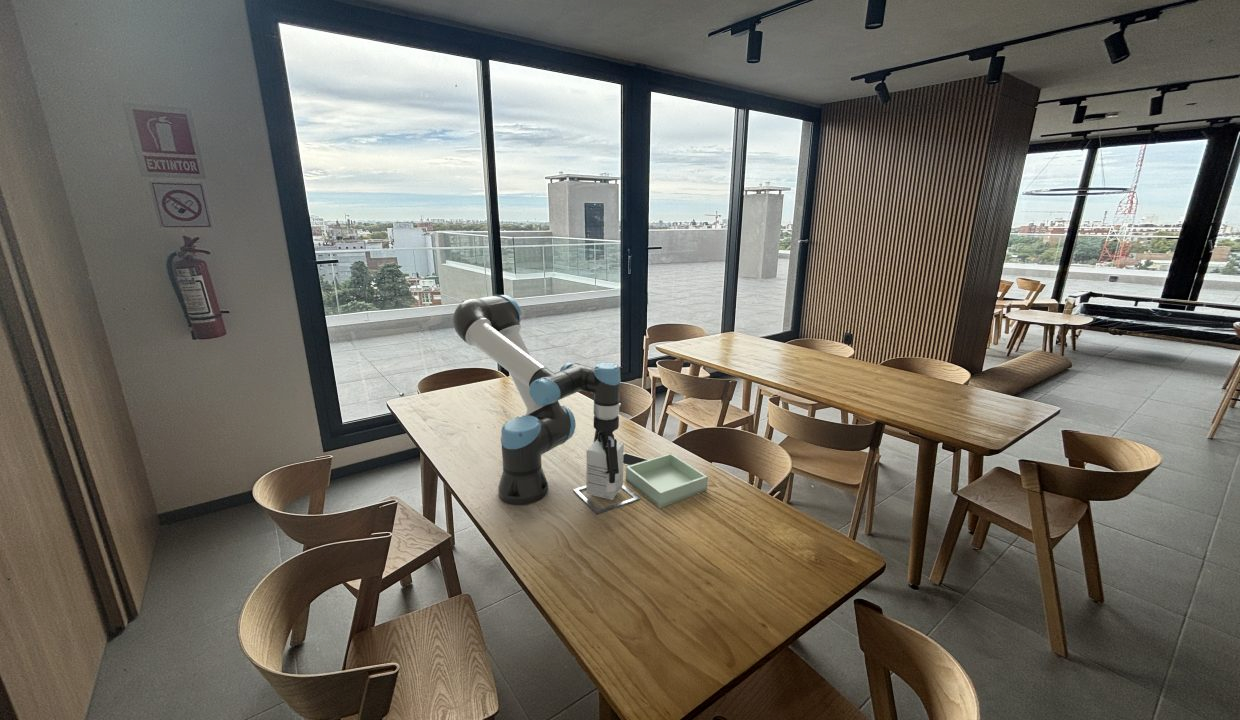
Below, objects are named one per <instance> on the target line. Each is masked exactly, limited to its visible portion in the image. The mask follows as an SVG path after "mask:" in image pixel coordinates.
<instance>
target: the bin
mask: <svg viewBox="0 0 1240 720" xmlns="http://www.w3.org/2000/svg"><path fill="white" fill-rule="evenodd" d="M708 478H709V476H708V475H706V474H705V473H703V472H701V471H700V470H699V469H697V468H696V467H694V466H692V465H691V464H689V463H687V462H686V461H684V460H683V459H681V458H680V457H678V456H676V455H675V454H673V453H672V452H670V453H667V454H664V455H660V456H657V457H654V458H650V459H649V460H647V461H643V462H640V463H637V464H633V465H630V466H625V481H626V482H627V483H628V484H629V485H631V486H632V487H633V488H635V489H636V490H637V491H638V492H639V493H640V494H642V495H643V496H644V497H645V498H647V499H648V500H650V501H651V502H652V503H653V504H655V505H656V506H657V507H658V508H659V509H662V508H664V507H666V506H669V505H672V504H674V503H678V502H681V501H683V500H686V499H688V498H691V497H694V496H696V495H699V494H701V492H702V493H704V492H703V491H705V490H707V491H708ZM705 492H706V491H705ZM698 493H699V494H698Z"/></svg>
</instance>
